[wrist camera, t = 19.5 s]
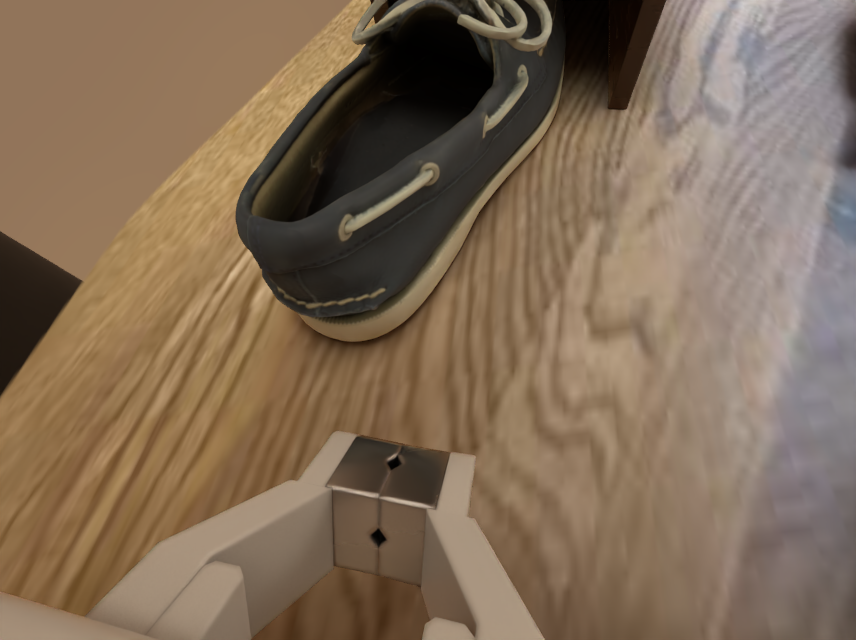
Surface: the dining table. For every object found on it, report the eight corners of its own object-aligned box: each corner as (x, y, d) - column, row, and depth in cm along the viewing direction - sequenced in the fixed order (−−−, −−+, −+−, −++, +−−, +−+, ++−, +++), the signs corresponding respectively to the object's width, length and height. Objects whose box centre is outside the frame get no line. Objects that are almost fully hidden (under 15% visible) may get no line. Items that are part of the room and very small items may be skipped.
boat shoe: (476, 11, 29) (476, -156, 22) (611, 40, 26) (662, -142, 19) (230, 289, 21) (98, 166, 13) (386, 380, 18) (323, 285, 10)
